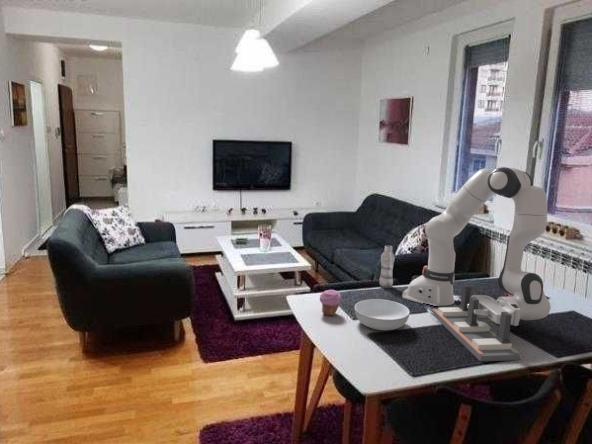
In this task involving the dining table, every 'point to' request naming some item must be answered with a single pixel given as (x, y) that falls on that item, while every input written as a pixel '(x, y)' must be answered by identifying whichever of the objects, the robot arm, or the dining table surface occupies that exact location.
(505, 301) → the robot arm
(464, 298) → the block
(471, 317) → the block
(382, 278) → the plastic bottle
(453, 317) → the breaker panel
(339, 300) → the cupcake
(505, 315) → the post
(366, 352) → the dining table surface
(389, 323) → the serving bowl
